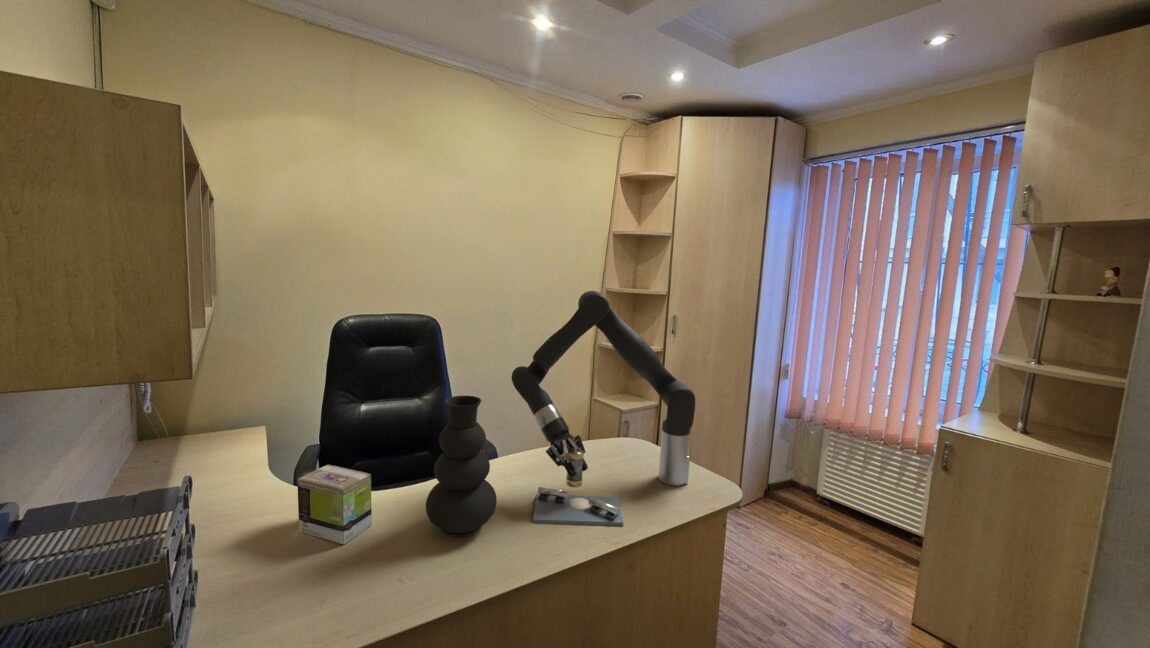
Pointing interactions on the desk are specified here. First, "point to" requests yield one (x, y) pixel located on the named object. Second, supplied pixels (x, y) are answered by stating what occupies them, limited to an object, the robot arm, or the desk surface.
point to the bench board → (574, 511)
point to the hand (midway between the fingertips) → (579, 472)
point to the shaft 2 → (599, 506)
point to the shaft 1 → (552, 494)
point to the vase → (461, 473)
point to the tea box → (334, 503)
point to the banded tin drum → (575, 467)
